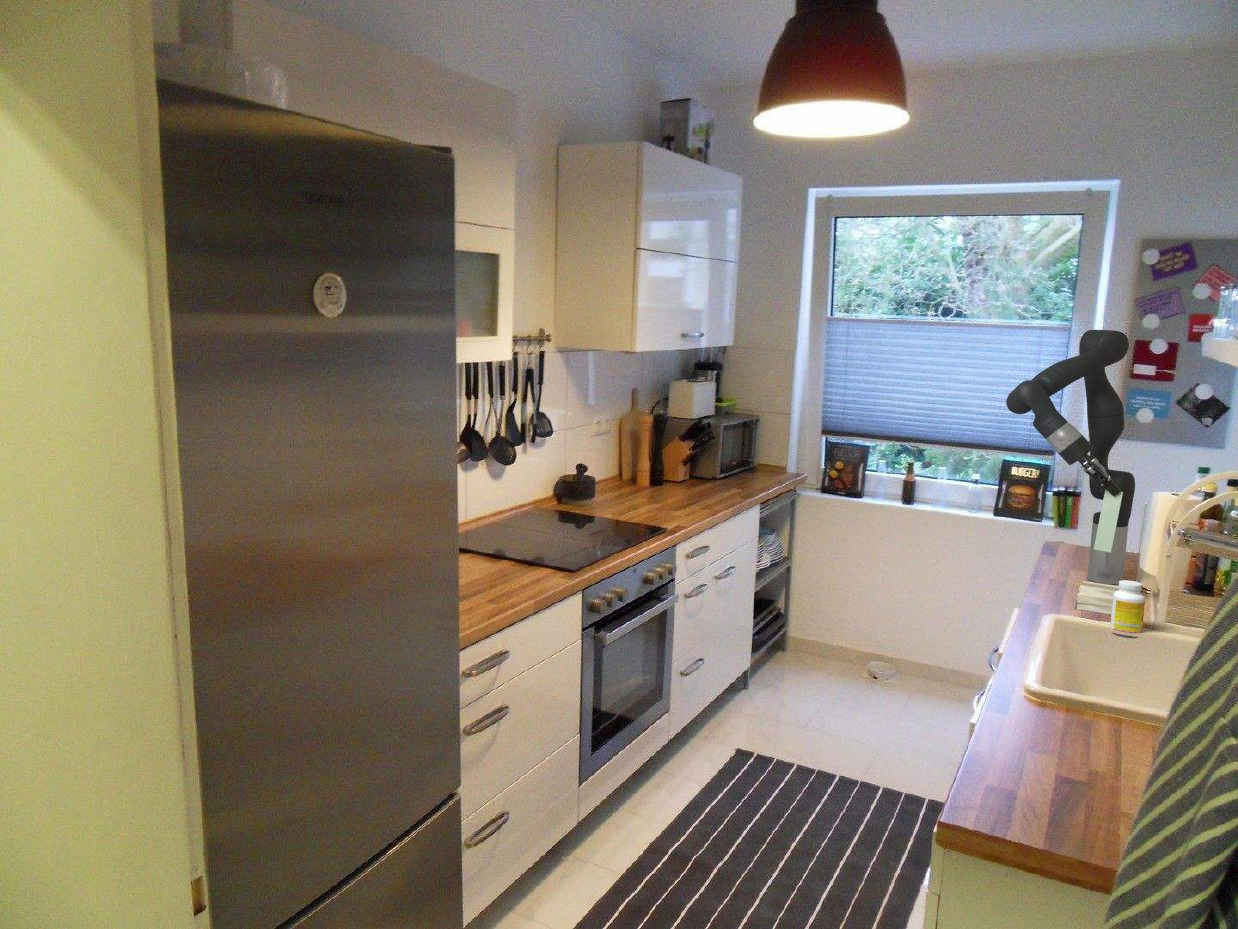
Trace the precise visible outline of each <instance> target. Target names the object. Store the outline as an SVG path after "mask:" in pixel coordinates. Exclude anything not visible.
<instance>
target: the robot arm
mask: <svg viewBox="0 0 1238 929" xmlns="http://www.w3.org/2000/svg"><path fill="white" fill-rule="evenodd" d="M1129 347H1130V340H1129V337H1128V336H1127V334H1125V333H1124V332H1123V331H1120V330H1112V329H1089V330H1086V331H1085V332H1084V333H1083V335H1082V336H1081V337H1080V340H1079V349H1078V350H1079V351H1078V352H1079V354H1078V355H1075V356H1072V357H1070V358H1066V359H1063V360H1060V361H1058V362H1056V363H1053V364H1051V365H1050V366H1048V367H1047V368H1044V369H1043V370H1042V371H1040V372H1039V373H1037V374H1036V375H1035V376H1034V377H1033V378H1031V380H1029V379H1028V380H1023V381H1022V382H1020V383H1019V384H1018V385H1017V386H1016V387H1015V388H1014V389H1013V390H1011V391H1010V392H1009V394H1008V395H1007V397H1006V401H1005V402H1006V408H1007V409H1008V410H1009V411H1010V412H1011V413H1013V414H1014V415H1015V414H1016V415H1024V414H1028V413H1029V412H1031V411H1032V413H1033V415H1034V419H1033V421H1032V426H1033V427H1034V429H1035V430H1036V431H1037V432H1038V433H1039V434H1040V435H1041V436H1042V437H1043V438H1044V439H1045V440H1046V442H1047V443H1048V444H1049V446H1051V448H1052V449H1053V450H1054V451H1055V452H1056V453H1057V454H1058V455H1059V456H1060V457H1061V458H1062V460H1064V461H1065V463H1066V464H1068V465H1069V466H1071V465H1073V464H1075V463H1076V462H1078V463H1079V464H1080V465H1081V467H1080V469H1081V470H1082V471H1083V472H1084V473H1085V474H1087V475H1088V476H1089V477H1088V478H1089V480H1088V481H1089V482H1088V483H1089V490H1090V494H1091V496H1092V498H1094V499H1096V500H1101V501H1103V499H1104V494H1105V490H1106V489H1107V490H1108V491H1109V493H1110V494H1111V495H1112V496H1116V495H1117V494H1119V493H1120V492H1123V495H1122V500H1121V505H1120V510H1119V515H1118V520H1117V525H1116V530H1115V535H1114V540H1113V545H1112V550H1111V553H1110V552H1105V551H1100V550H1095V549H1094V545H1095V540H1096V535H1097V530H1098V524H1099V519H1100V514H1101V511H1097V512H1095V513H1094V514H1093V515H1092V523H1091V524H1092V525H1091V536H1090V537H1091V538H1090V546H1089V556H1088V557H1089V559H1088V568H1087V570H1088V571H1087V577H1086V579H1087V580H1089V581H1090V582H1094V583H1101V584H1107V585H1118V580H1124V572H1125V562H1126V554H1127V542H1128V535H1129V534H1128V532H1129V524H1130V519H1131V515H1132V510H1133V504H1134V497H1135V491H1136V479H1135V476H1134V475H1133V473H1131V472H1130V471H1124V470H1115V469H1109V455H1110V452H1111V451H1112V449H1113V447H1114V446H1115V444H1116V443H1117V441H1118V440H1119V439H1120V437H1121V435H1122V434H1123V432H1124V429H1125V412H1124V405H1123V402H1122V400H1121V398H1120V397H1119V395H1118V393H1117V392H1116V390H1115V388H1114V387H1113V385H1112V384H1111V383H1110V381H1109V379H1108V375H1107V373H1106V367H1109V366H1112V365H1114V364H1116V363H1118V362H1120V361H1122V360H1123V359H1124V358H1125V356H1127V353H1128V352H1129V349H1130V348H1129ZM1082 378H1083V382H1084V386H1085V387H1084V388H1085V396H1086V397H1085V399H1086V417H1087V428H1088V429H1087V430H1088V438H1089V440H1088V439H1087V438H1086V437H1085V436H1084V435H1083V434H1082V433H1081V432H1080V431H1079V430H1078V429H1077V428H1076V427H1075V426H1074V425H1073V424H1071V423H1070V422H1069V421H1068V420H1067V419H1066V418H1065V417H1064V416H1063V415H1062V414H1061V413H1060V412H1059V411H1058V410H1057V408H1056V407H1055V404H1054V402H1053V400H1052V399H1051V398H1050V397H1052V396H1053V395H1055V394H1057V393H1059V392H1060V391H1062V390H1063V389H1065V388H1067V386H1069V385H1071V384H1073V383H1074V382H1076V381H1078V380H1079V379H1082Z"/></svg>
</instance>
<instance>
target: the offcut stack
mask: <svg viewBox="0 0 1238 929" xmlns="http://www.w3.org/2000/svg"><path fill="white" fill-rule="evenodd" d="M1119 589H1120V588H1119V586H1117V585H1115V584H1104V583H1098V582H1094V581H1086V580H1083V581H1081V584H1080V585H1079V588H1078V589H1077V596H1076V598H1077V599H1076V601H1077V602H1078V604H1077V609H1080V610H1079V611H1083V610H1087V611H1086V612H1090V611H1093V612H1092V613H1096V612H1100V613H1099V614H1103V613H1106V614H1105V615H1109V614H1111V613H1112V603H1113V594H1114V593H1115V592H1116V591H1119ZM1077 609H1076V610H1077Z"/></svg>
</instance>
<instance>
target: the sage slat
mask: <svg viewBox="0 0 1238 929" xmlns="http://www.w3.org/2000/svg"><path fill="white" fill-rule="evenodd" d="M1122 495H1123V492H1120V493H1119V494H1117V495H1116V496H1112V495H1111V494H1110V493H1109V491H1108V490H1107V489H1106V490H1105V494H1104V499H1103V500H1102V506H1101V510H1100V512H1101V514H1100V519H1099V524H1098V530H1097V535H1096V540H1095V545H1094V549H1095V550H1100V551H1105V552H1110V553H1111V550H1112V545H1113V540H1114V535H1115V530H1116V525H1117V520H1118V515H1119V510H1120V505H1121V500H1122Z"/></svg>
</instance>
